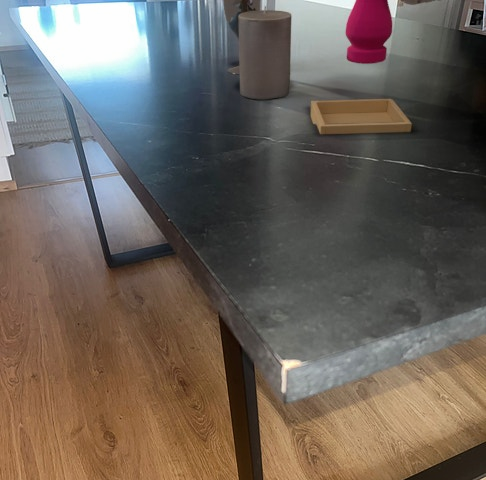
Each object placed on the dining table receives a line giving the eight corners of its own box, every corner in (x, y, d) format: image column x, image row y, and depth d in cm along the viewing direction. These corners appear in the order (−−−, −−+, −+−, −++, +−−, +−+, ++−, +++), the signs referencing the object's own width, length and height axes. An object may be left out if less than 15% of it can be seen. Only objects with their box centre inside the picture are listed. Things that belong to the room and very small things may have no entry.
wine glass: (266, 67, 118) (267, -9, 109) (252, 76, 112) (251, -4, 104) (235, 64, 121) (232, -10, 112) (219, 72, 115) (215, -5, 106)
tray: (389, 113, 90) (391, 98, 89) (409, 140, 80) (412, 123, 78) (310, 116, 90) (311, 100, 89) (319, 143, 80) (320, 126, 78)
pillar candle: (250, 84, 107) (248, 1, 99) (296, 88, 104) (299, 2, 96) (232, 97, 100) (228, 9, 91) (281, 102, 97) (282, 11, 88)
